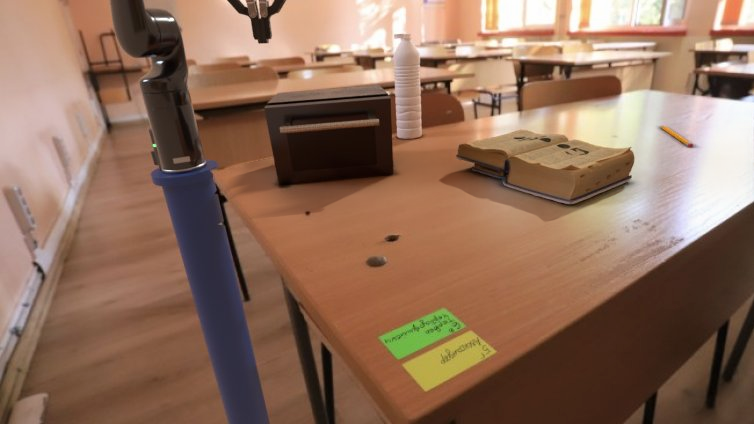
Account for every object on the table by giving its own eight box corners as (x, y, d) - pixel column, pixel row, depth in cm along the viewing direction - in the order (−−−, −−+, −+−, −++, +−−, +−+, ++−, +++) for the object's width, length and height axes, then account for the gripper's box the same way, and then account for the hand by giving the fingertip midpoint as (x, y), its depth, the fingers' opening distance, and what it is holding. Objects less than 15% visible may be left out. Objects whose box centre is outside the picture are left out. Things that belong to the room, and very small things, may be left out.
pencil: (688, 147, 85) (689, 144, 84) (659, 127, 101) (660, 124, 101) (692, 147, 84) (693, 144, 84) (663, 127, 101) (663, 124, 101)
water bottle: (402, 133, 114) (398, 34, 104) (425, 134, 111) (423, 32, 101) (390, 140, 106) (384, 35, 97) (414, 141, 104) (410, 33, 94)
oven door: (396, 183, 77) (394, 104, 69) (276, 194, 75) (260, 115, 68) (392, 171, 82) (389, 95, 74) (279, 181, 80) (265, 105, 73)
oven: (392, 171, 82) (388, 93, 76) (279, 182, 80) (267, 103, 75) (383, 151, 97) (379, 84, 91) (288, 160, 95) (278, 92, 89)
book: (632, 181, 68) (639, 145, 66) (570, 206, 60) (574, 167, 58) (512, 153, 88) (514, 125, 86) (453, 170, 80) (453, 139, 78)
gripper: (293, -78, 65) (305, 41, 72) (207, -76, 65) (228, 44, 71) (288, -91, 59) (302, 41, 65) (192, -89, 58) (216, 45, 65)
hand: (263, 43), depth 68 cm, fingers closed
